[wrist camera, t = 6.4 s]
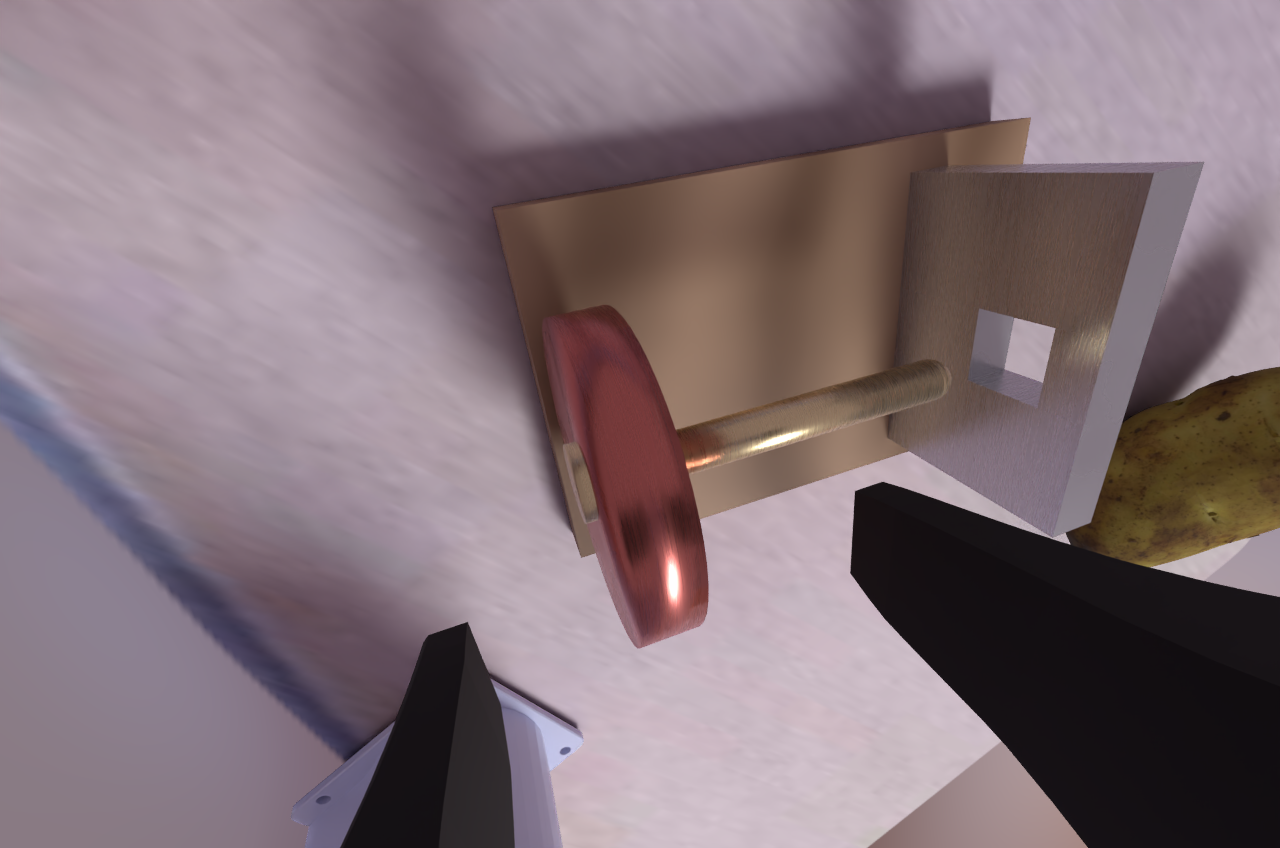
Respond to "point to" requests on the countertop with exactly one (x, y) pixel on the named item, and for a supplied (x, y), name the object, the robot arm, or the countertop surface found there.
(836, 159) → the base board
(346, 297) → the countertop surface
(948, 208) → the eye plate
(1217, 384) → the potato
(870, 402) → the copper disc on rod
